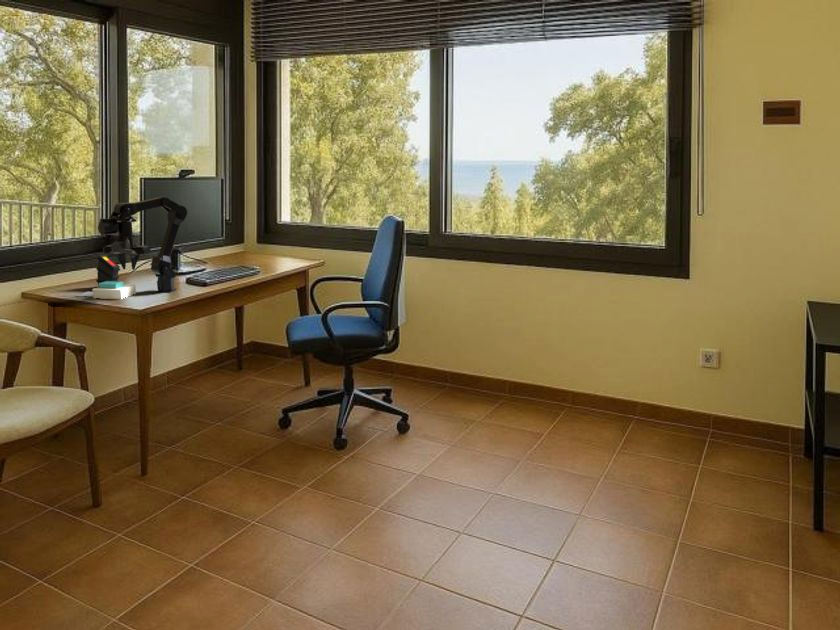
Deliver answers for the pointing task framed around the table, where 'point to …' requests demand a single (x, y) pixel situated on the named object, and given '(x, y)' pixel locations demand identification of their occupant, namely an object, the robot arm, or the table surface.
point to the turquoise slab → (111, 284)
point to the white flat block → (114, 292)
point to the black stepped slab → (107, 270)
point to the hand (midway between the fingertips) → (128, 269)
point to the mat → (86, 294)
